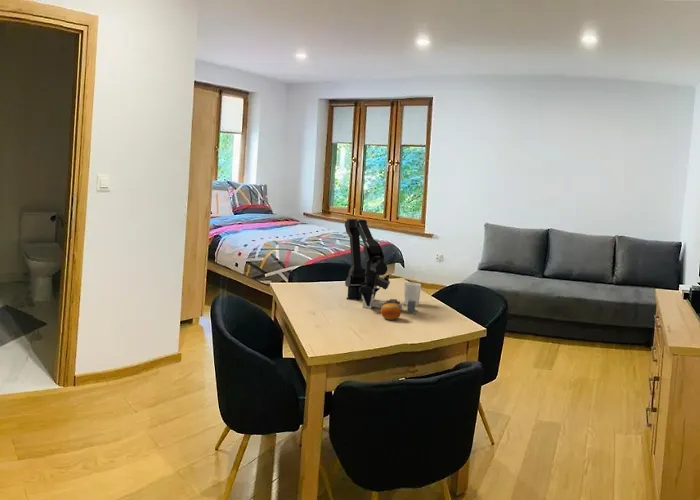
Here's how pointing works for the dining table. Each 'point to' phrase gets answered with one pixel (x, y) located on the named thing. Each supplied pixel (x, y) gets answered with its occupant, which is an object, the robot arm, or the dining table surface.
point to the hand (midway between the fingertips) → (369, 304)
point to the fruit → (391, 311)
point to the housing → (396, 303)
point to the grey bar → (375, 303)
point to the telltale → (411, 306)
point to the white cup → (412, 292)
